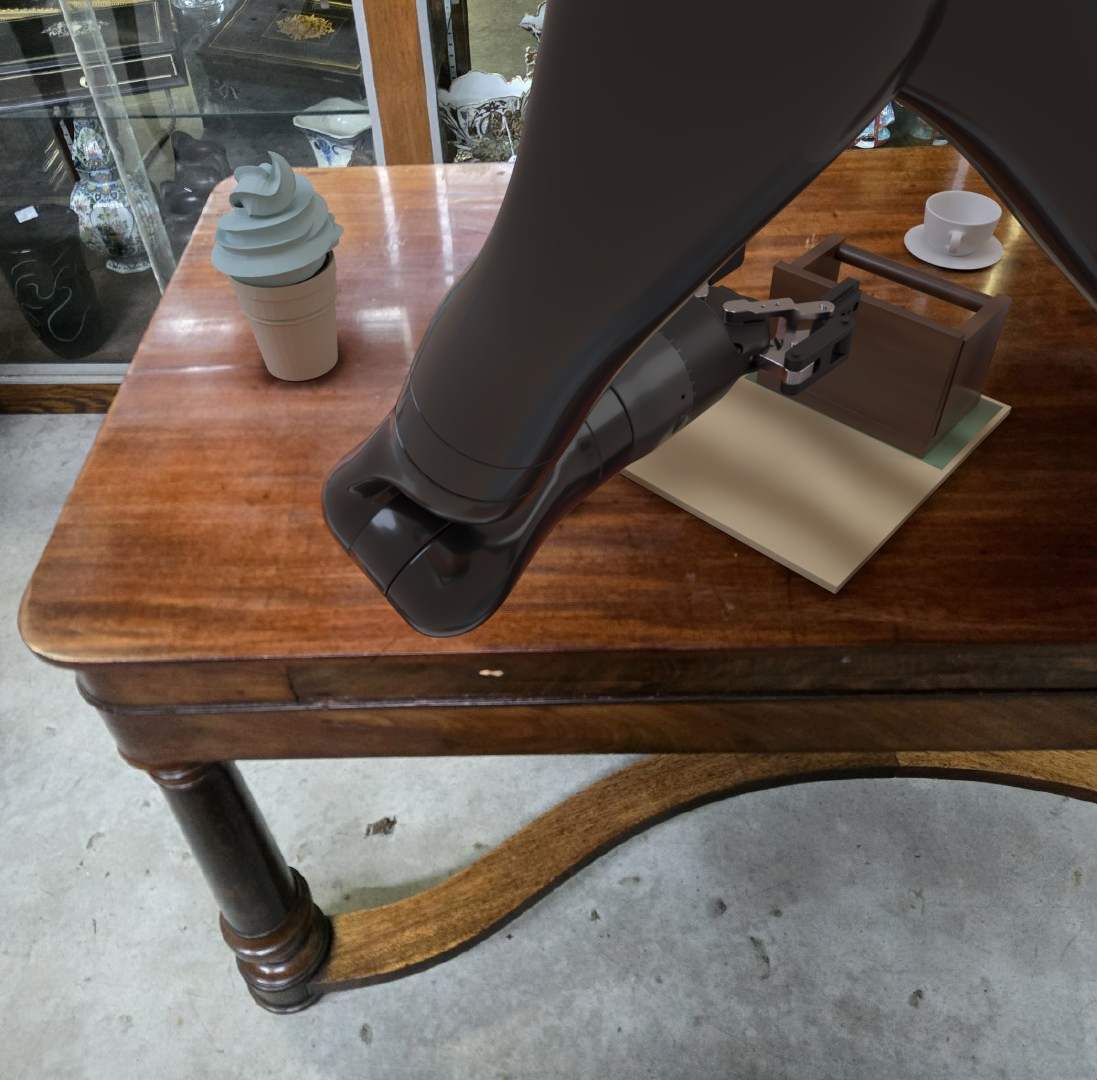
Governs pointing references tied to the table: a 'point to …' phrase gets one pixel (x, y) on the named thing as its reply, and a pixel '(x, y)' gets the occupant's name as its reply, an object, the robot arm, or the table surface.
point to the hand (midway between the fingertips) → (795, 268)
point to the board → (802, 478)
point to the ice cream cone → (282, 267)
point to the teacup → (957, 231)
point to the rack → (894, 349)
